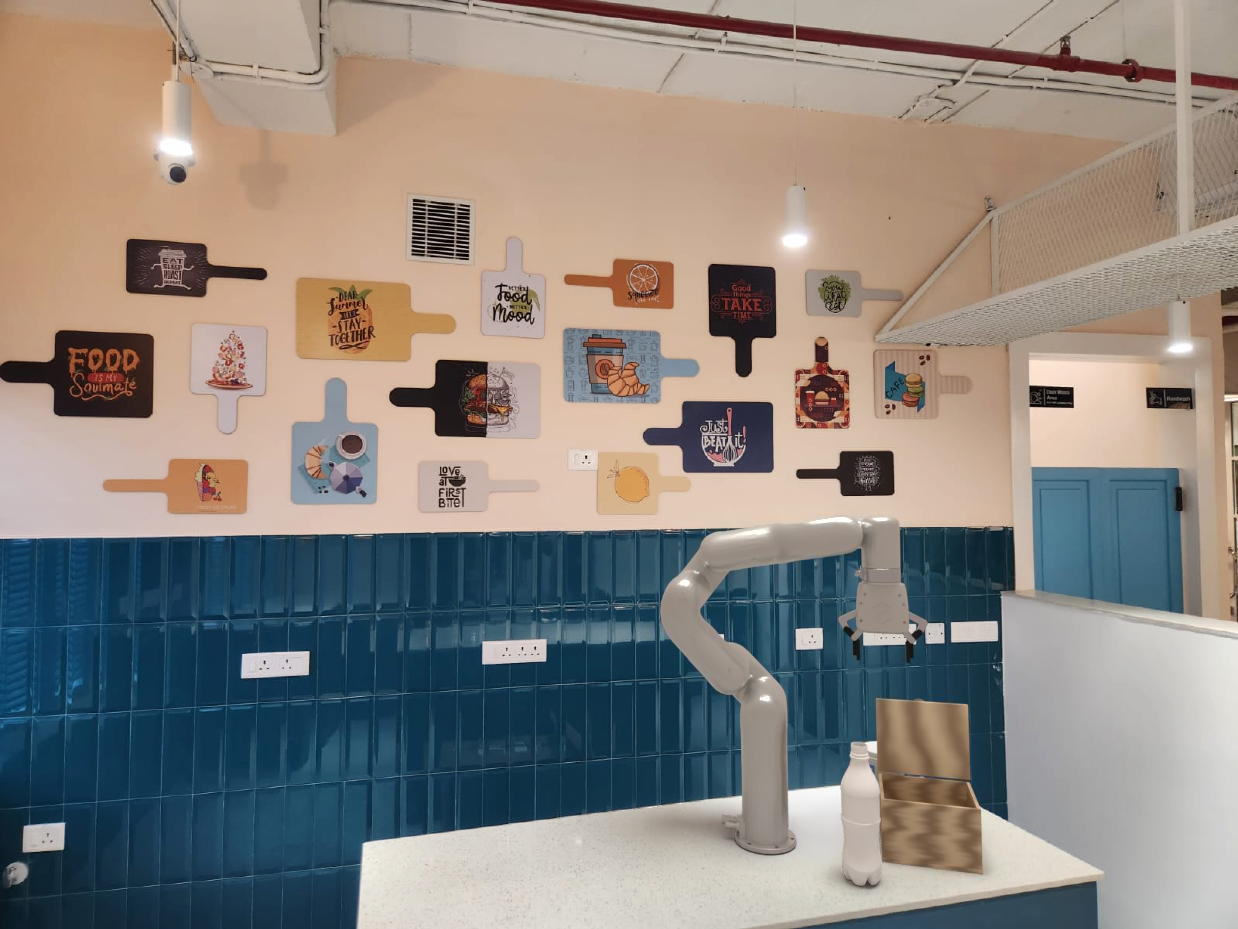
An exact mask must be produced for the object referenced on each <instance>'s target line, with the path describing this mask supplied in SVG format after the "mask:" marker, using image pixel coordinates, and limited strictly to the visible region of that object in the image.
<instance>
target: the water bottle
mask: <svg viewBox="0 0 1238 929" xmlns="http://www.w3.org/2000/svg"><path fill="white" fill-rule="evenodd" d="M867 747H868V746H867V744H866V743H865V742H863V741H853V742H851V743H850V754H849V757H850V761H849V765H848V766H847V768H846V770H845V772H844V774H843V777H842V779H841V782H840V788H839V789H840V797H841V799H840V800H841V804H840V805H841V807H840V808H841V810H840V812H841V813H840V820H841V823H842V829H843V830H842V831H843V843H842V845H843V846H842V852H841V868H842V871H843V873H844V876H845V878H846V879H847V880H848V881H852V883H853V884H854V885H856V886H861V887H863V886H865V885H866V882H868V883H869V885H871V886H875V885H876V884H878V882H879V880H880V878H881V875H882V869H883V867H882V864H883V863H882V862H883V861H882V854H881V852H880V844H879V837H880V821H881V818H880V796H879V794H880V788H879V784H878V782H877V780H876V778H875V776H874V774H873V772H872V770H871V768H870V766H869V762H868V759H869V755H868V752H867V751H868V748H867Z"/></svg>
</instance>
